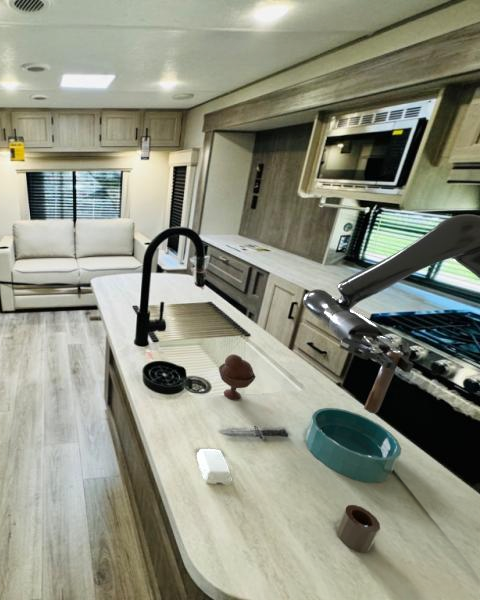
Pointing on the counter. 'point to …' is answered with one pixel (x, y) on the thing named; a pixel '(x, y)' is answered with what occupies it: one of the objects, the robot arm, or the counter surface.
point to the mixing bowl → (352, 445)
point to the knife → (257, 433)
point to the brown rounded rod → (381, 386)
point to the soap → (213, 466)
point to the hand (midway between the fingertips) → (401, 367)
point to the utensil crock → (358, 528)
